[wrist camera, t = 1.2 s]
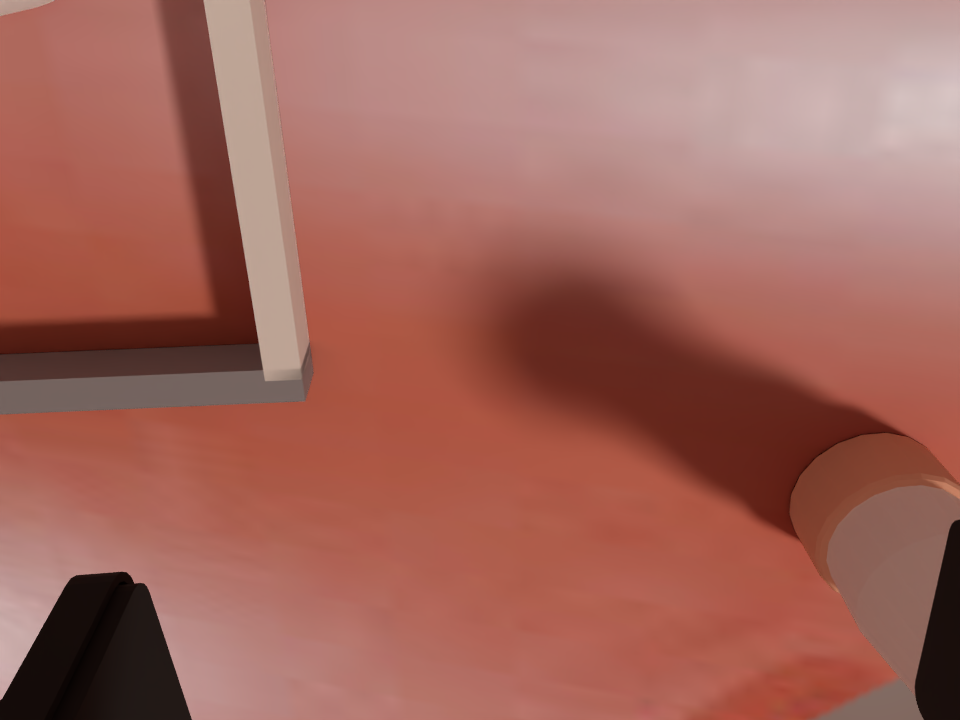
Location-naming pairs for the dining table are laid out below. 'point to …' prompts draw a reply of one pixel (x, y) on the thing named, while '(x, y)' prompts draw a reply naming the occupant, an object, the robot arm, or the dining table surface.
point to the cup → (20, 5)
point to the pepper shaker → (879, 536)
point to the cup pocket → (269, 260)
